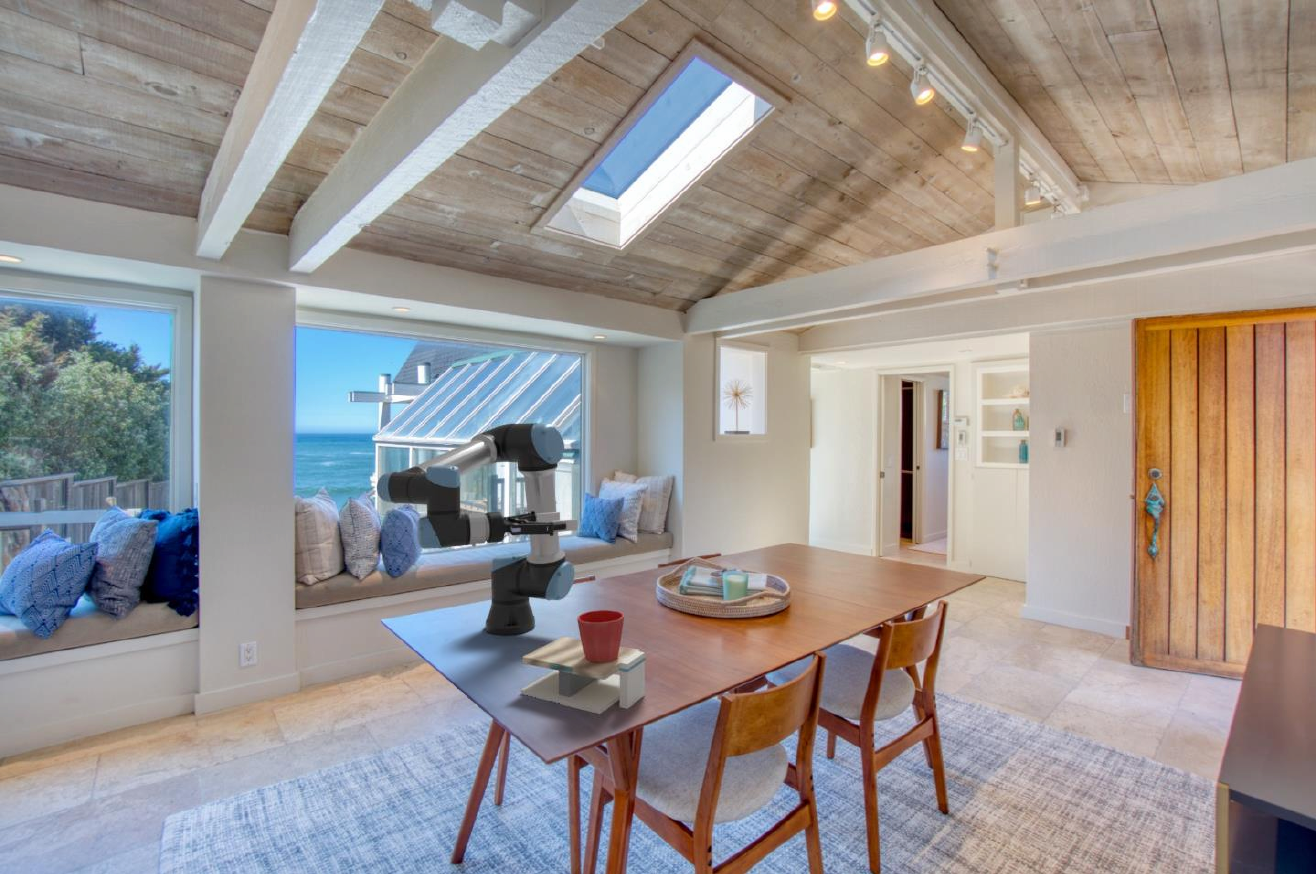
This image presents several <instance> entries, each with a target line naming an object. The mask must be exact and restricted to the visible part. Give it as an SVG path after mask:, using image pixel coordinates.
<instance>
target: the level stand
mask: <svg viewBox="0 0 1316 874" xmlns="http://www.w3.org/2000/svg"><path fill="white" fill-rule="evenodd" d="M645 665H646V652H643V651H641V650H640V651H637V652H635V653H634V654H632V655H630V656H629V657H627V658H626V659H624V660H623V661H621V662H620V668H619V671H618V672H619V674H616V673H614V674H613V675H611V676H610V677H608V678H607V679H605V680H602V679H597V678H592V677H587V676H582V675H577V674H572V673H567V672H563V671H558V670H553V671H551V672H550V673H548V674H546V675H544V676H543V677H540V678H538V679H537V680H536V681H533V682H531V683H530V684H529V685H526V686H525V687H523V688H522V689H521V690H520V694H521V695H523V694H524V696H527V695H528V697H531V696H532V698H535V697H536V699H539V700H543V701H547V702H550V701H553V702H552V703H554V702H556V703H555V704H558V703H560V704H559V705H562V706H567V707H569V706H570V708H573V709H577V710H581V711H585V712H589V713H593V714H597V715H601V714H602V713H604V712H605V711H606V710H608V709H609V708H610V707H612V706H613V705H615V704H616V703H617V702H618V701H619V708H622V709H626V710H628V709H629V708H630V707H632V706H633V705H634V704H635V703H637V702H638V701H639V700H641V699H642V698H643V697H645V695H646V694H645V693H646V692H645V689H646V686H645V685H646V681H645V680H646V669H645V668H646V666H645Z"/></svg>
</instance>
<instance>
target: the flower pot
mask: <svg viewBox="0 0 1316 874" xmlns="http://www.w3.org/2000/svg"><path fill="white" fill-rule="evenodd" d="M576 619H577V625H578V630H579V636H580V640H581V641H582V646H583V650H584V655H585V659H586V660H588V661H590V662H598V663H604V662H609V661H613V660H615V659H616V658H617V657H618V653H619V648H620V647H621V641H622V635H623V629H624V621H625V615H624V613H623V612H621V611H618V610H613V609H612V610H610V609H598V610H592V611H591V610H590V611H587V612H584V613H581V614H580V615H578V616H577V618H576Z"/></svg>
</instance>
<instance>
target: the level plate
mask: <svg viewBox="0 0 1316 874" xmlns="http://www.w3.org/2000/svg"><path fill="white" fill-rule="evenodd" d="M637 651H640V652H641V650H640V649H636V648H630V647H624V646H620V648H619V653H618V657H617V658H616V659H615V660H613V661H609V662H604V663H598V662H590V661H588V660H586V659H585V655H584V650H583V646H582V641H581V639H578V638H573V637H567V636H561V637H559V638H558V639H555V640H553V641H551V642H549V643H547V644H546V645H544V646H541V647H539V648H537V649H535V650H533V651H531V652H529V653H527V654H525V655H523V656H522V657H521V663H522V664H525V665H529V666H533V667H534V666H535V667H537V668H538V667H539V668H544V669H549V670H553V671H555V670H558V671H563V672H567V673H572V674H577V675H582V676H587V677H592V678H597V679H602V680H605V679H607V678H608V677H610V676H611V675H613V674H616V673H617V672H620V671H619V668H620V662H621V661H623V660H624V659H626V658H627V657H629V656H630V655H632V654H634V653H635V652H637Z"/></svg>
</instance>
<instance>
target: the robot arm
mask: <svg viewBox="0 0 1316 874" xmlns="http://www.w3.org/2000/svg"><path fill="white" fill-rule="evenodd" d="M564 442H565V441H564V438H563V434H562V433H561V432H560V430H559V429H558V428H557V427H556V426H554V425H553V424H550V423H543V422H542V423H541V422H533V423H531V422H529V423H506V424H503V425H499V426H495V427H493V428H491V429H488V430H485V431H483V432H481V433H478V434H476V435H474V436H473V437H472V438H471V439H470V441H469V442H467V443H464V444H462V445H459V446H457V447H456V448H453V449H451V450H449V451H446V452H444V453H442V454H440V455H437V456H435V457H432V458H431V459H428V460H425V461H424V462H421V463H420V464H419V463H418V464H417V465H414V466H412V467H410V468H407V469H405V470H403V471H402V470H401V471H399V472H398V471H392V472H391V471H389V472H385V473H383V474H382V475H381V476H380V477H379V479H378V481H377V484H376V490H377V491H376V492H377V495H378V497H379V498H380V499H381V500H382V501H383V502H386V503H393V504H409V505H410V504H412V505H426V515H425V516H424V517H420V518H419V519H418V520H417V542H418V545H419V546H420V548H421V549H423V550H424V549H425V550H426V549H443V548H444V549H445V548H452V547H454V548H455V547H461V546H470V545H471V546H472V547H474V548H475V547H476V546H477V545H481V544H485V543H486V542H487V543H488V544H492V543H493V544H495V543H501V542H503V541H504V538H505V534H506V533H508V534H510V535H511V536H522V535H527V536H528V535H529V544H530V545H529V546H530V552H527V551H521V552H519V551H518V552H512V553H511V552H509V553H506V554H501V555H498V556H496V557H494V558H493V559H492V561H491V570H490V572H491V577H490V579H491V604H490V606H489V607H490V608H489V611H488V615H487V618H486V620H485V631H486V630H487V631H488V632H487V631H486V632H487V633H489V632H490V633H489V634H492V633H494V634H493V635H497V634H500V635H499V636H501V635H502V636H509V635H512V636H513V635H518V634H519V635H520V634H523V633H527V632H529V631H531V630H533V629H534V628H535V627H536V619H535V616H534V614H533V610H532V606H531V602H530V598H531V599H539V600H540V599H541V600H547V601H561V600H563V599H565V598H566V597H567V596H568V595H569V593H570V591H571V589H572V587H573V585H574V584H573V583H574V582H575V581H574V580H575V573H576V572H575V567H574V565H573V564H572V563H571V562H569V561H567V560H566V553H565V551H563V549H561V548H560V539H559V538H560V537H559V532H561V533H562V532H572V531H578V529H579V524H578V523H579V521H578V519H577V518H573V519H572V518H571V519H561V511H557V505H556V504H557V502H556V494H555V493H556V492H555V480H554V479H555V478H554V472H555V471H556V470H557V468H559V467H558V463H559V462H561V460H562V459H563V457H564V453H565V443H564ZM496 463H497V464H498V463H517V471H518V472H519V473H520V474H522V475H523V480H524V491H525V500H526V501H525V502H526V511H527V512H526V513H521V514H517V515H509V516H504V515H503V513H502V512H501V511H490V512H486V513H484V512H473V513H464V514H462V513H461V485H462V483H461V478H460V477H461V476H463V475H466V474H467V473H470V472H471V471H474V470H475V469H477V468H479V467H481V466H483V467H488V466H491V465H494V464H496Z"/></svg>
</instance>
